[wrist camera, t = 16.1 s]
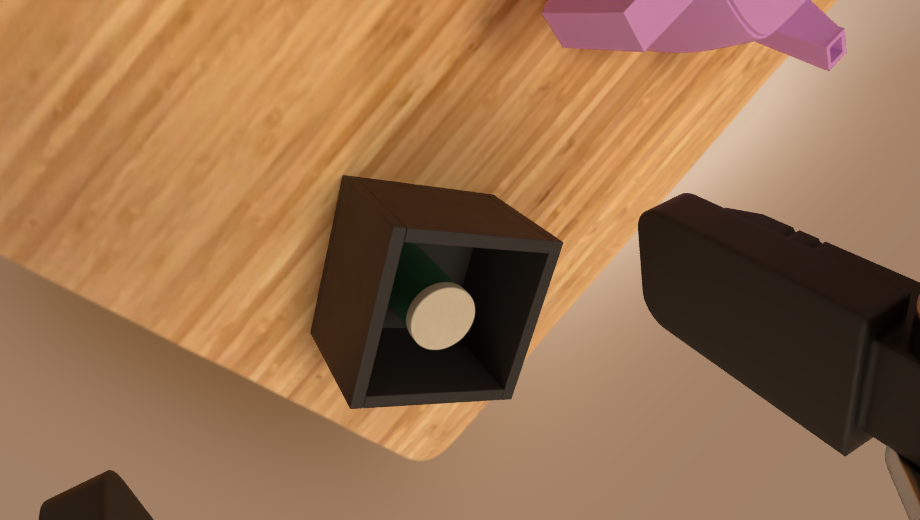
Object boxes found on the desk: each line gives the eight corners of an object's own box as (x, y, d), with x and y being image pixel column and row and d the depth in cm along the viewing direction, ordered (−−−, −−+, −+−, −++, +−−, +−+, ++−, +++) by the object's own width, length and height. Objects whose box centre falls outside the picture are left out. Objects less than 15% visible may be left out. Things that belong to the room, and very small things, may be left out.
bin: (310, 333, 44) (349, 409, 37) (342, 174, 40) (393, 226, 33) (453, 333, 49) (511, 399, 42) (493, 194, 46) (563, 242, 39)
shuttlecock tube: (363, 295, 43) (403, 350, 38) (378, 237, 42) (421, 285, 37) (419, 298, 46) (464, 350, 40) (435, 243, 44) (483, 289, 39)
